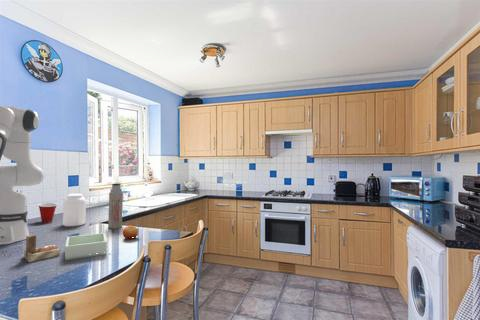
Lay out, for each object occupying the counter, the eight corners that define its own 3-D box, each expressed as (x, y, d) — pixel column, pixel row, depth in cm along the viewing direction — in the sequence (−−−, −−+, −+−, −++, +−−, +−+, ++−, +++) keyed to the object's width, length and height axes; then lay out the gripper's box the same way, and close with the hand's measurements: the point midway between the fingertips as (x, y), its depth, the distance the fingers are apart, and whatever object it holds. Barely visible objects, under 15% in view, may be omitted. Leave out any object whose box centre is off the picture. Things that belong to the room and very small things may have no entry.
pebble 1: (39, 249, 115) (47, 244, 117) (38, 249, 117) (46, 245, 119) (43, 255, 115) (51, 251, 117) (42, 255, 117) (50, 251, 120)
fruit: (131, 232, 152) (135, 221, 149) (137, 241, 147) (141, 231, 145) (117, 235, 146) (121, 224, 143) (123, 245, 141) (127, 234, 139)
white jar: (89, 222, 178) (90, 193, 178) (76, 227, 165) (77, 195, 165) (72, 221, 179) (73, 192, 179) (57, 226, 166) (58, 195, 166)
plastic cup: (49, 223, 172) (49, 205, 172) (33, 223, 172) (33, 205, 172) (60, 219, 183) (61, 202, 183) (45, 219, 183) (46, 202, 183)
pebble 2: (47, 249, 117) (53, 243, 119) (47, 249, 119) (53, 243, 121) (53, 254, 118) (59, 248, 120) (53, 253, 121) (59, 247, 122)
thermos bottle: (120, 228, 165) (121, 184, 166) (107, 228, 163) (108, 184, 163) (122, 225, 173) (123, 183, 173) (109, 225, 171) (110, 183, 171)
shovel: (28, 262, 109) (29, 238, 110) (24, 256, 115) (24, 234, 115) (59, 255, 118) (60, 233, 118) (53, 250, 123) (54, 229, 123)
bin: (64, 260, 112) (65, 246, 112) (67, 249, 126) (67, 236, 126) (106, 254, 120) (106, 241, 120) (104, 244, 134) (104, 232, 134)
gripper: (-19, 208, 94) (15, 230, 101) (-26, 202, 107) (5, 221, 114) (-38, 223, 90) (-1, 244, 98) (-42, 214, 103) (-9, 234, 111)
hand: (2, 232), depth 106 cm, fingers open, 8 cm apart
